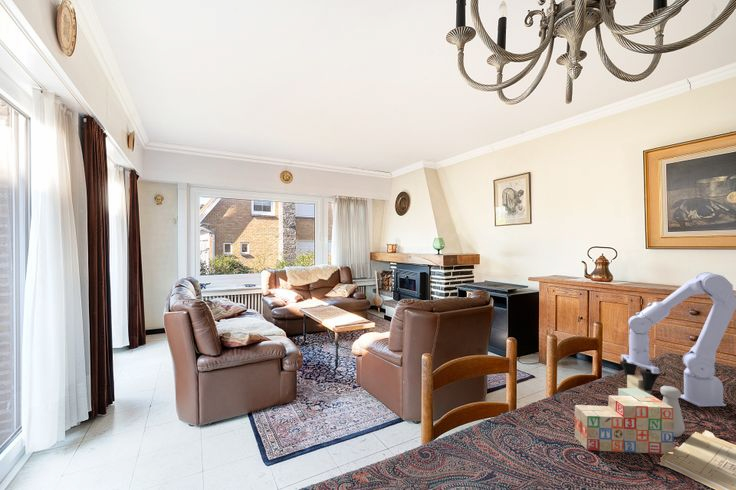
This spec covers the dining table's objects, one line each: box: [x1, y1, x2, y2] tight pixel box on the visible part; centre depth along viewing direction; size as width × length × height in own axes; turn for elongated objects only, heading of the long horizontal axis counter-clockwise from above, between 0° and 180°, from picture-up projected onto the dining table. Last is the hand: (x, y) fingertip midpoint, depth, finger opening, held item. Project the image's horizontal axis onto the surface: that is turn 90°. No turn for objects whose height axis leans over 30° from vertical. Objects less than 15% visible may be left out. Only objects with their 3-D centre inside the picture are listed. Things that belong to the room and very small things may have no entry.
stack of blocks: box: [574, 394, 675, 455], centre depth 90 cm, size 21×6×12 cm, turn 85°
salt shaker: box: [659, 385, 686, 438], centre depth 95 cm, size 6×6×13 cm
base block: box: [617, 387, 655, 397], centre depth 114 cm, size 7×7×3 cm
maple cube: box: [626, 374, 653, 395], centre depth 123 cm, size 5×5×5 cm
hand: (639, 385), depth 123 cm, fingers open, 7 cm apart
